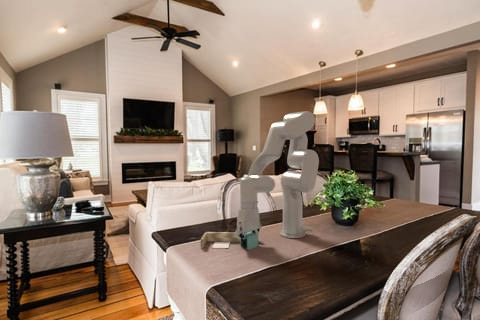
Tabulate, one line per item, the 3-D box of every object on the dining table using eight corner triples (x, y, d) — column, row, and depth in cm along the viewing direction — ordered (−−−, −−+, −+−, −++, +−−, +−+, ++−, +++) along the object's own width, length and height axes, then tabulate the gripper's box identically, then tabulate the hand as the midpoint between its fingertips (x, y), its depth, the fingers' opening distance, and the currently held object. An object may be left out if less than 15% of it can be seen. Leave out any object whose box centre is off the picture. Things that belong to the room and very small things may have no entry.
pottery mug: (248, 235, 137) (240, 222, 135) (232, 242, 139) (224, 230, 137) (249, 222, 149) (241, 210, 146) (233, 229, 150) (226, 217, 148)
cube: (249, 243, 125) (249, 231, 125) (257, 246, 121) (257, 234, 121) (240, 246, 122) (240, 234, 121) (248, 249, 117) (248, 237, 117)
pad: (229, 242, 126) (229, 242, 126) (228, 248, 119) (228, 247, 119) (214, 242, 126) (214, 241, 126) (212, 248, 119) (212, 247, 119)
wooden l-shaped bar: (258, 241, 128) (258, 232, 127) (258, 249, 118) (258, 240, 117) (205, 240, 129) (205, 232, 129) (200, 248, 119) (200, 239, 119)
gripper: (256, 200, 129) (256, 238, 130) (228, 206, 117) (228, 248, 118) (268, 203, 123) (268, 242, 124) (239, 209, 112) (240, 253, 113)
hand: (249, 245), depth 121 cm, fingers closed on cube, 5 cm apart
